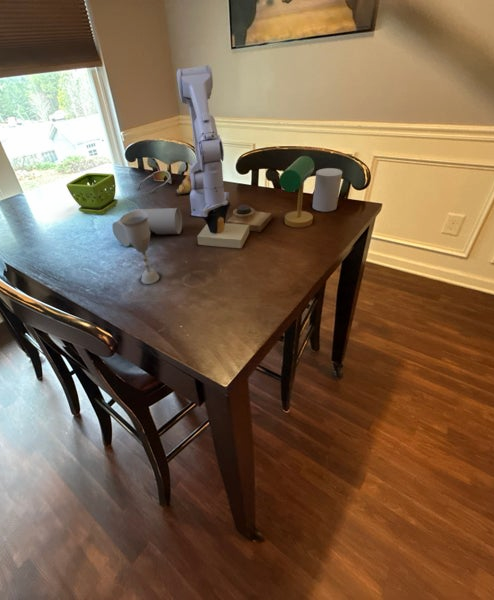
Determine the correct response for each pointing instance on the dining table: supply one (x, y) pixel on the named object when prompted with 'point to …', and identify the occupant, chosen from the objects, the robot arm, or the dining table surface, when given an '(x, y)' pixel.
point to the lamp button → (243, 209)
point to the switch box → (251, 219)
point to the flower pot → (94, 192)
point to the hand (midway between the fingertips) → (217, 229)
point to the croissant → (185, 186)
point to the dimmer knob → (220, 225)
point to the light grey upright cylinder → (326, 189)
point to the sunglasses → (159, 178)
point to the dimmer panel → (225, 236)
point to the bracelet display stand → (290, 183)
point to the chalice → (140, 240)
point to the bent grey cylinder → (153, 223)
